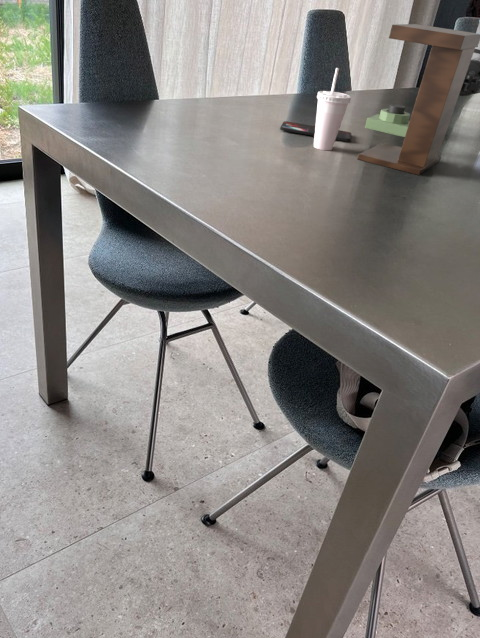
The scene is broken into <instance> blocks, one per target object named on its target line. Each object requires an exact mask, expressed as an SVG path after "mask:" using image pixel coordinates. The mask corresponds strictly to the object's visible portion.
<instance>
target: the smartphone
mask: <svg viewBox="0 0 480 638" xmlns="http://www.w3.org/2000/svg"><path fill="white" fill-rule="evenodd" d="M315 126H316V125H311V124H305V123H299V122H294V121H283V122H282V124H281V125H280V127H279V130H281V131H284V132H288V133H289V132H290V133H295V134H301V135H305V136H312V137H314V136H315ZM351 140H352V132H350V131H346V130H341V129H339V131H338V134H337V137H336V139H335V141H342V142H347V143H349V142H351Z"/></svg>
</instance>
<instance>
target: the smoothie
mask: <svg viewBox="0 0 480 638" xmlns="http://www.w3.org/2000/svg"><path fill="white" fill-rule="evenodd" d="M339 70H340V68H339V67H335V71H334V75H333V80H332V84H331V90H320V91H319V90H318V92H317V95H316V99H317V106H316V115H315V125H314V126H315V136H313V137H314V138H313V148H315V149H317V150H321V151H332V150H333V148H334V145H335V143H336V140H335V139H336V137H337V134H338V131H339V130H340V127H341V125H342V123H343V120H344V117H345V114H346V112H347V108H348V106H349V104H350V103H351V100H352V96H351V95H350V94H346V93H343V92H339V91H335V88H336V84H337V79H338V76H339Z"/></svg>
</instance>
